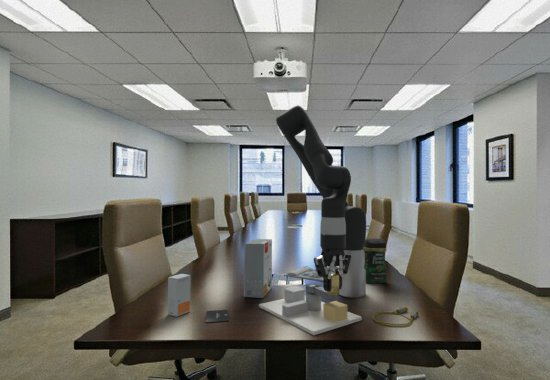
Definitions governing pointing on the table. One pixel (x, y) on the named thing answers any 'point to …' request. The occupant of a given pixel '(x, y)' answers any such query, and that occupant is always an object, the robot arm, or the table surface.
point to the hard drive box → (257, 267)
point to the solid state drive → (217, 316)
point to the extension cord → (399, 310)
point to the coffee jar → (375, 260)
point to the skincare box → (179, 294)
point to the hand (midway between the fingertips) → (332, 289)
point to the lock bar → (320, 291)
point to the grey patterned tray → (305, 274)
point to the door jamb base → (310, 311)
